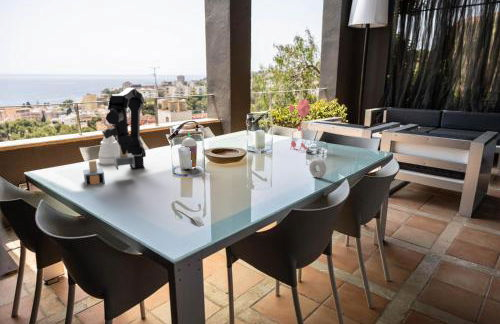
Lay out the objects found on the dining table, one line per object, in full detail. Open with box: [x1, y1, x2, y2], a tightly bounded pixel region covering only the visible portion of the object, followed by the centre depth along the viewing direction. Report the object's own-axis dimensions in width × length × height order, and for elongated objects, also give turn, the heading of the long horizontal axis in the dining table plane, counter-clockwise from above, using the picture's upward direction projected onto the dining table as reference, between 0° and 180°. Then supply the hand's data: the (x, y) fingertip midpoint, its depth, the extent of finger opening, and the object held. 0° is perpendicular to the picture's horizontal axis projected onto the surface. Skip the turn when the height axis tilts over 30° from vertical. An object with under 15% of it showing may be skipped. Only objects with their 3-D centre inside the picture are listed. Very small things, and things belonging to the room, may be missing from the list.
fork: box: [174, 206, 205, 228], centre depth 124 cm, size 3×21×3 cm, turn 36°
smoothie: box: [181, 132, 198, 168], centre depth 183 cm, size 8×8×20 cm
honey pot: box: [98, 136, 120, 165], centre depth 198 cm, size 13×13×18 cm
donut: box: [308, 157, 327, 179], centre depth 171 cm, size 10×3×10 cm, turn 38°
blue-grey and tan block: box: [82, 159, 106, 187], centre depth 160 cm, size 8×8×10 cm
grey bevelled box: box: [114, 144, 135, 171], centre depth 165 cm, size 8×8×10 cm
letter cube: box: [89, 174, 100, 185], centre depth 161 cm, size 4×4×4 cm
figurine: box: [288, 98, 316, 152], centre depth 232 cm, size 15×26×35 cm, turn 34°
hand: (123, 153), depth 165 cm, fingers closed on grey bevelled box, 3 cm apart
